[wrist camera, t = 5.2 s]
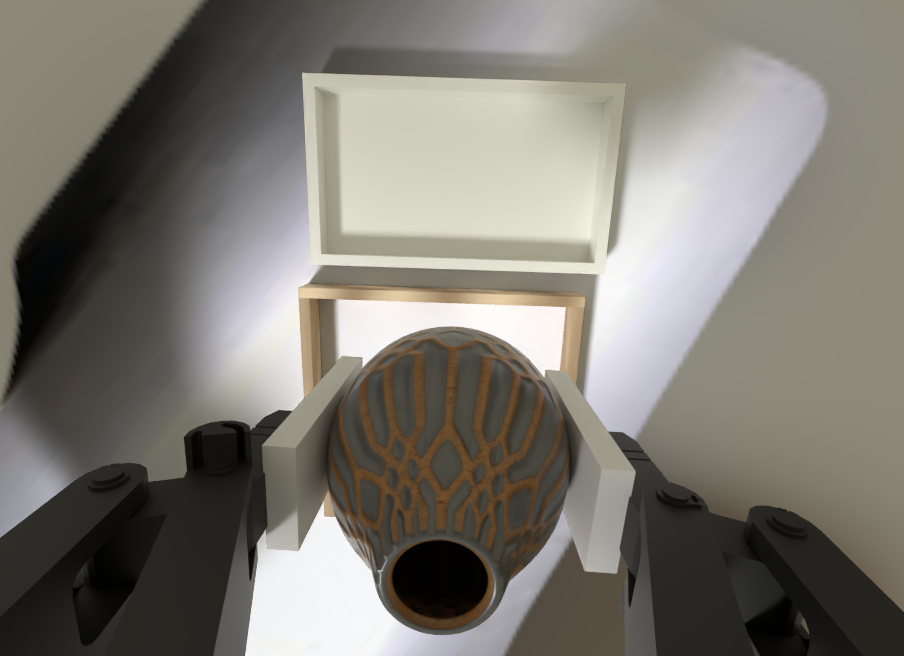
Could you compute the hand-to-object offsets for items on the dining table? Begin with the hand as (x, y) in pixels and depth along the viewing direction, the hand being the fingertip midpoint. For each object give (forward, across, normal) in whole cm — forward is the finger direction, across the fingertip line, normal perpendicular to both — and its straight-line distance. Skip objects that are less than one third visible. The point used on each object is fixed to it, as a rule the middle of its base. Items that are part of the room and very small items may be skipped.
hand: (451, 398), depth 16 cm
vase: (+1, 0, 0) cm, 1 cm away
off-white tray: (+16, 0, +9) cm, 18 cm away
